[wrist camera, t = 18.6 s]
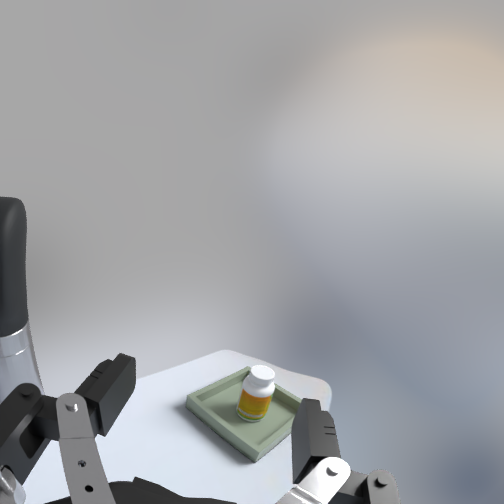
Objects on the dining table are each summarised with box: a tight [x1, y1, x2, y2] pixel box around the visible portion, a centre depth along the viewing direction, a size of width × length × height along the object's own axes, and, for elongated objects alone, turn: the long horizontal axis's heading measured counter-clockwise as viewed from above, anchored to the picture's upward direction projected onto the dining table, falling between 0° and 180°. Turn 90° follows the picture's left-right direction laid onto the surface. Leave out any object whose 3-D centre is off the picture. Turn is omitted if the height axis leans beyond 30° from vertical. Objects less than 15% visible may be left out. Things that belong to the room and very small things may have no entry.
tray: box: [186, 366, 302, 463], centre depth 47 cm, size 16×16×3 cm
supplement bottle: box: [236, 365, 275, 422], centre depth 46 cm, size 5×5×10 cm
